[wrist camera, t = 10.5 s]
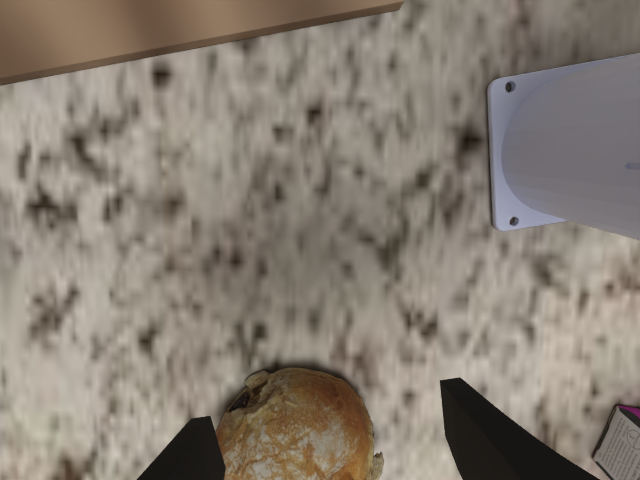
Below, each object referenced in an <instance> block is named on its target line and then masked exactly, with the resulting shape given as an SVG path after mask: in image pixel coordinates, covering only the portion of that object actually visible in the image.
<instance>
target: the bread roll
mask: <svg viewBox="0 0 640 480" xmlns="http://www.w3.org/2000/svg"><path fill="white" fill-rule="evenodd" d="M244 384H245V385H246V386H248V387H247V388H246V389H244V390H243V391H242V392H241V393H240V395H239V396H238V397H237V398H236V399H235V400H234V402H233V403H232V404H231V406H230V407H229V408H228V409H227V411H226V412H225V413H224V414H223V417H222V419H221V421H220V423H219V425H218V427H217V429H216V431H215V433H216V437H217V440H218V443H219V447H220V450H221V453H222V457H223V460H224V463H225V467H226V470H225V476H224V480H379V478H380V476H381V474H382V468H383V465H384V459H383V454H382V452H380V454H379V453H376V455H375V456H374V437H373V435H374V433H373V423H372V421H371V420H370V416H369V414H368V411H367V409H366V407H365V405H364V404H363V401H362V397H359V395H358V394H357V393H356V392H355V391H354V390H353V389H352V388H351V387H350V386H349V385H348V384H347V383H346V382H345V381H344V380H343V379H341V378H336V377H334V376H333V375H330V374H327V373H325V372H324V371H321V372H320V371H313V370H309V369H304V368H284V369H281V370H278V371H276V372H274V373H272V374H271V373H268V372H267V371H265V370H262V371H260V372H257V373H255V374H253V375H251V376H250V377H249V378H248V379H247V380H246V381H245V383H244Z"/></svg>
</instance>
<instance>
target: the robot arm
mask: <svg viewBox="0 0 640 480" xmlns="http://www.w3.org/2000/svg"><path fill="white" fill-rule="evenodd" d="M507 83H510V84H511V91H510V92H507V91H506V89H505V86H506V84H507ZM487 98H488V121H489V144H490V167H491V189H492V212H493V225H494V227H495V228H496V229H498V230H500V231H510V230H516V229H522V228H528V227H534V226H540V225H546V224H552V223H559V222H565V221H572V222H576V223H579V224H583V225H587V226H590V227H594V228H597V229H601V230H604V231H608V232H611V233H615V234H619V235H622V236H626V237H629V238H633V239H636V240H640V53H636V54H630V55H624V56H619V57H613V58H608V59H602V60H597V61H591V62H586V63H580V64H575V65H569V66H564V67H558V68H552V69H547V70H541V71H536V72H530V73H525V74H519V75H514V76H508V77H503V78H498V79H496V80H493V81H492V82H491V83H490V84H489V86H488V89H487ZM512 217H515V222H514V223H513V224H511V225H510V223H509V221H510V219H511V218H512ZM440 387H441V397H442V408H443V418H444V429H445V436H446V439H447V442H448V444H449V447H450V450H451V452H452V455H453V458H454V460H455V463H456V465H457V468H458V471H459V473H460V475H461V477H462V479H463V480H600V479H598V478H596V477H595V476H593V475H592V474H590V473H588V472H587V471H585V470H583V469H582V468H580V467H578V466H577V465H575V464H574V463H572V462H570V461H569V460H567V459H566V458H564V457H563V456H561V455H560V454H558V453H557V452H555V451H554V450H552V449H551V448H550V447H548V446H547V445H545V444H544V443H542V442H541V441H540V440H538V439H537V438H535V437H534V436H533V435H531V434H530V433H529V432H527V431H526V430H525V429H523V428H522V427H521V426H519V425H518V424H517V423H515V422H514V421H513V420H512V419H510V418H509V417H508V416H506V415H505V414H504V413H503V412H501V411H500V410H499V409H498V408H496V407H495V406H494V405H493V404H491V403H490V402H489V401H488V400H487V399H485V398H484V397H483V396H482V395H480V394H479V393H478V392H477V391H476V390H475V389H473V388H472V387H471V386H470V385H469V384H467V383H466V382H465V381H464V380H463V379H461V378H453V379H447V380H440ZM225 470H226V467H225V463H224V460H223V457H222V453H221V450H220V447H219V443H218V440H217V437H216V433H215V430H214V427H213V423H212V420H211V417H210V416H206V417H200V418H193V419H191V420H190V421H189V422H188V423H187V424H186V425H185V426H184V427H183V428H182V429H181V431H180V432H179V433H178V434H177V435H176V436H175V437H174V438H173V440H172V441H171V442H170V443H169V444H168V445H167V446H166V448H165V449H164V450H163V451H162V452H161V453H160V454H159V455H158V457H157V458H156V459H155V460H154V461H153V462H152V463H151V464H150V465H149V467H148V468H147V469H146V470H145V471H144V472H143V473H142V474H141V475H140V477H139V478H138V479H137V480H224V476H225Z"/></svg>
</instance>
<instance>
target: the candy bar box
mask: <svg viewBox="0 0 640 480" xmlns="http://www.w3.org/2000/svg"><path fill="white" fill-rule="evenodd" d="M593 461H594V462H595V463H596V464H597V465H598V466H599V467H600V468H601V469H602V471H603V472H604V473H605V474H606V475H607V476H608V477H609V478H610V479H611V480H640V408H633V407H626V406H616V407H615V409H614V410H613V412H612V414H611V416H610V418H609V420H608V423H607V427H606V429H605V431H604V434H603V436H602V439H601V441H600V443H599V445H598V447H597V449H596V452H595V454H594V457H593Z"/></svg>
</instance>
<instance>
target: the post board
mask: <svg viewBox="0 0 640 480" xmlns="http://www.w3.org/2000/svg"><path fill="white" fill-rule="evenodd" d="M403 2H404V0H0V85H4V84H10V83H15V82H20V81H26V80H31V79H36V78H41V77H47V76H52V75H57V74H62V73H68V72H73V71H78V70H84V69H89V68H94V67H99V66H105V65H110V64H115V63H121V62H126V61H131V60H136V59H142V58H147V57H152V56H157V55H163V54H168V53H173V52H179V51H184V50H189V49H194V48H200V47H205V46H210V45H216V44H221V43H226V42H231V41H237V40H242V39H247V38H252V37H258V36H263V35H268V34H274V33H279V32H284V31H289V30H295V29H300V28H305V27H310V26H316V25H321V24H326V23H332V22H337V21H342V20H347V19H353V18H358V17H363V16H369V15H374V14H379V13H384V12H390V11H395V10H399V9H400V7H401V5H402V4H403Z"/></svg>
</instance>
